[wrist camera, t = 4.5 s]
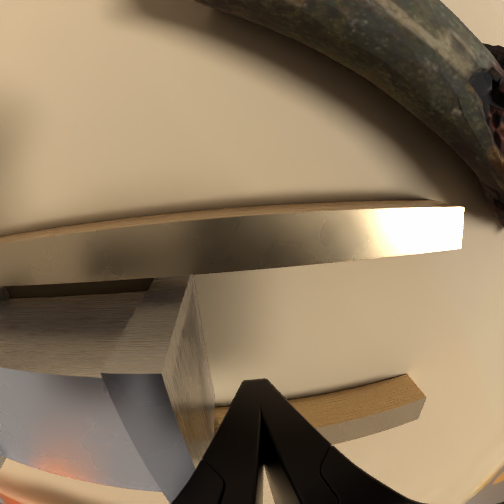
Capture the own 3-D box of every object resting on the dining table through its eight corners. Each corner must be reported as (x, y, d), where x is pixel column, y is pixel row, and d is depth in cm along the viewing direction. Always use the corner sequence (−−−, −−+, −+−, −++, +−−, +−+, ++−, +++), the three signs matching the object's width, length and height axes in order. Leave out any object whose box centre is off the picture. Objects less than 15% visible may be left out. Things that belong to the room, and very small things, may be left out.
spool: (214, 395, 12) (214, 511, 6) (31, 387, 11) (-17, 461, 6) (192, 268, 10) (161, 373, 5) (-10, 285, 10) (-91, 342, 4)
